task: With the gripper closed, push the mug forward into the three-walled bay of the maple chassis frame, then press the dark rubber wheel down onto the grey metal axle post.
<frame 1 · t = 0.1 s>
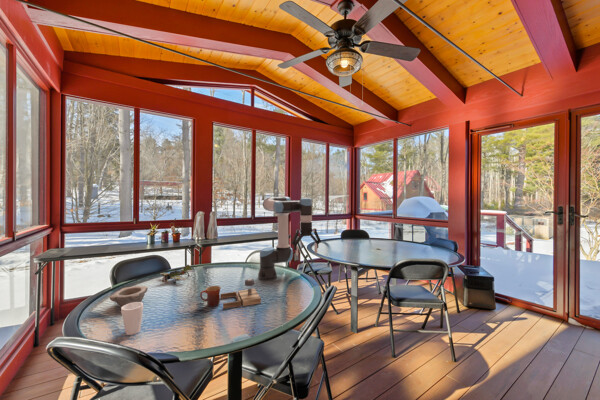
hand: (306, 254, 175), 28 cm above the table, fingers open, 13 cm apart
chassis: (240, 300, 171), on the table
toy airplane: (177, 280, 213), on the table
wheel: (249, 282, 173), point 11 cm above the table, slide at 0.0 cm
mug: (210, 305, 164), on the table
foam cup: (133, 331, 134), on the table
mortar: (130, 305, 165), on the table
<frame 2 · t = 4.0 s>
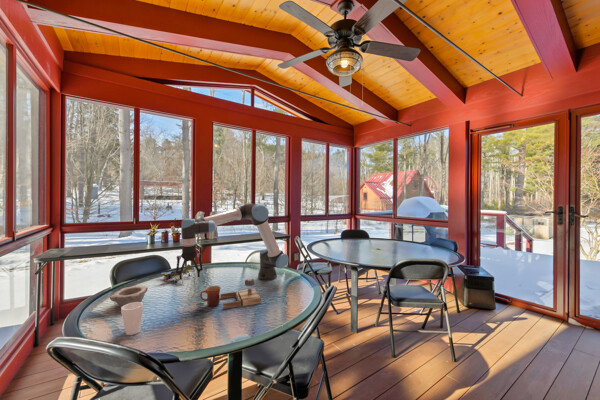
hand: (189, 283, 159), 15 cm above the table, fingers open, 7 cm apart
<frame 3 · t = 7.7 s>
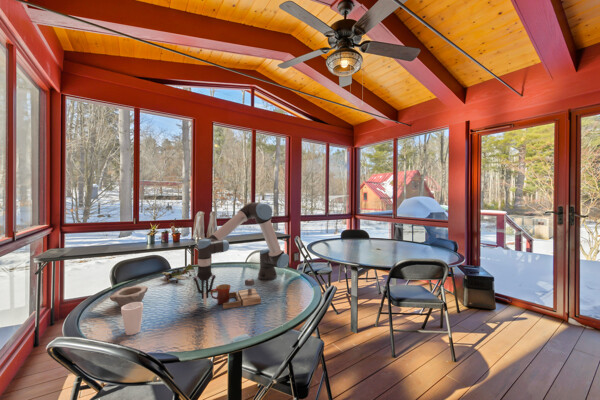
hand: (204, 303, 163), 2 cm above the table, fingers closed
mug: (220, 303, 166), on the table, touching hand
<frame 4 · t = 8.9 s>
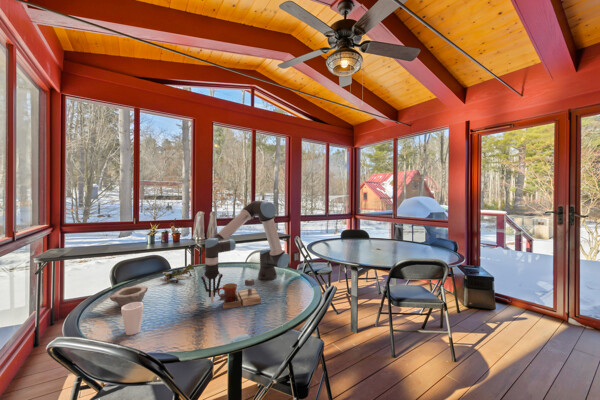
hand: (212, 302, 164), 2 cm above the table, fingers closed
mug: (227, 302, 168), on the table, touching hand
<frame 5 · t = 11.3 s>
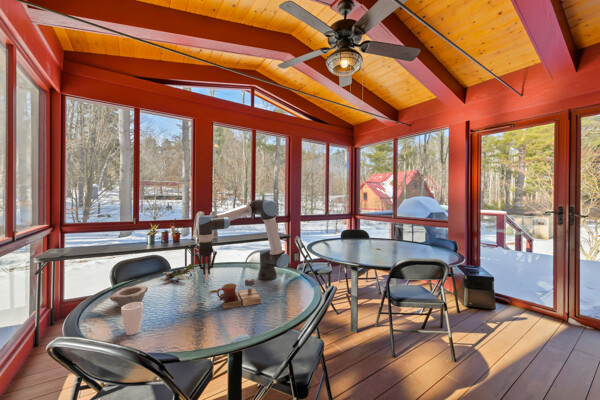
hand: (206, 279, 163), 16 cm above the table, fingers closed
mug: (227, 302, 168), on the table
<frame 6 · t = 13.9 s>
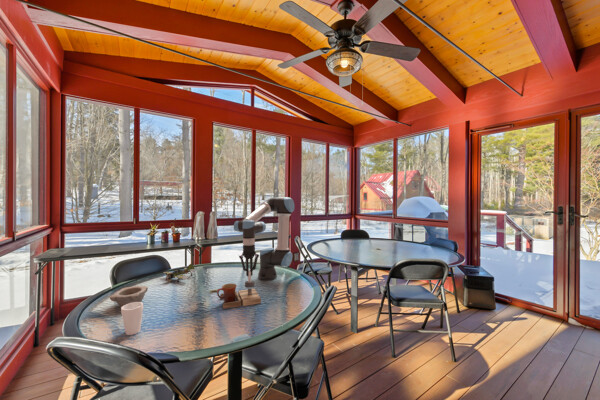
hand: (249, 280, 172), 12 cm above the table, fingers closed
wheel: (249, 283, 173), point 10 cm above the table, slide at 1.1 cm, touching gripper
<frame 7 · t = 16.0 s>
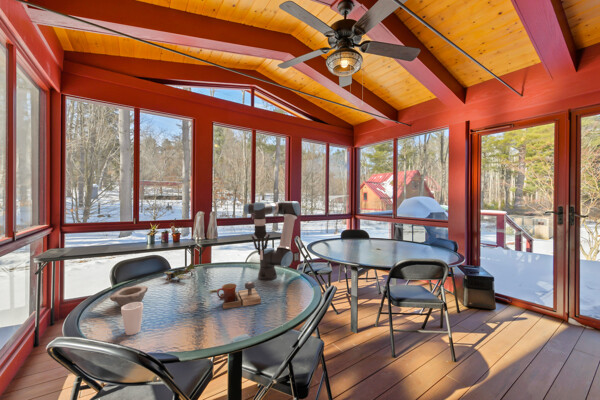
hand: (261, 259, 183), 23 cm above the table, fingers closed
wheel: (249, 285, 173), point 9 cm above the table, slide at 2.0 cm
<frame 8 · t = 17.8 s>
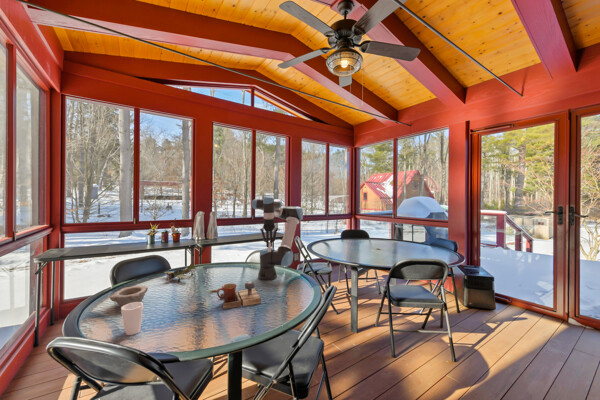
hand: (269, 251, 190), 26 cm above the table, fingers closed
at the end: mug inside the target area on the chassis (0.2 cm from its centre), point 0.0 cm above the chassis's base; mug tilted 0°; wheel slide at 2.0 cm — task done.
